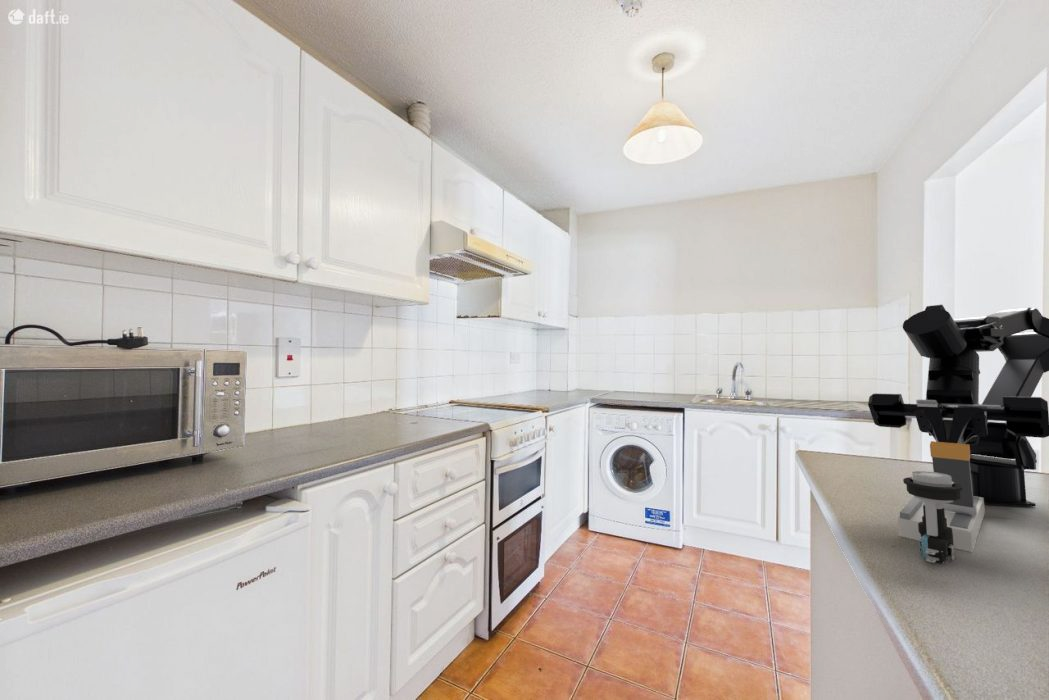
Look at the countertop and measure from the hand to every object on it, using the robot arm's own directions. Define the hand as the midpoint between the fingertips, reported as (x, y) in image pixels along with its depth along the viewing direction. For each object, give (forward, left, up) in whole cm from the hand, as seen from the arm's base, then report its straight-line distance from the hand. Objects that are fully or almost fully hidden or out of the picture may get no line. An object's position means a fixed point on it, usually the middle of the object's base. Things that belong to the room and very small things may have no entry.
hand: (947, 459), depth 60 cm
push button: (+8, +9, -10) cm, 16 cm away
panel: (-1, -3, -10) cm, 11 cm away
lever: (-1, 0, -7) cm, 7 cm away
